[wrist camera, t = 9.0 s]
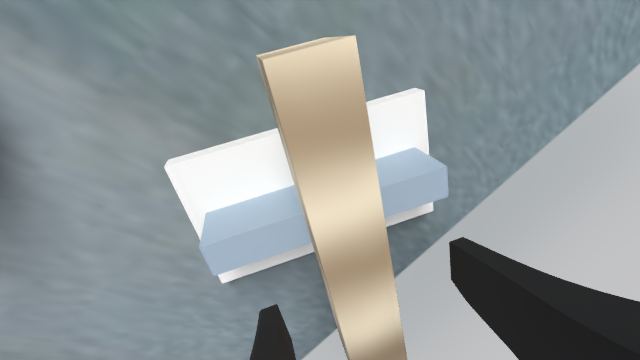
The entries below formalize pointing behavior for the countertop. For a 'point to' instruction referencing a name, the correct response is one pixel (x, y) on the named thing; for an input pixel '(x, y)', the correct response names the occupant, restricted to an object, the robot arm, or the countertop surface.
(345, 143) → the beam
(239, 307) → the countertop surface
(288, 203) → the ridge stand
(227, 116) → the countertop surface
